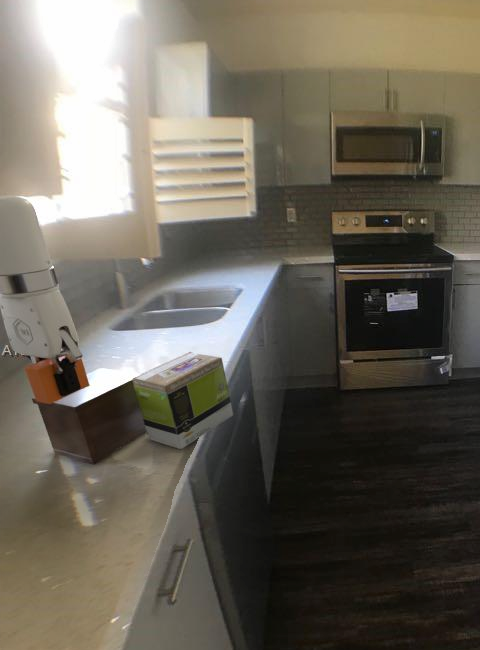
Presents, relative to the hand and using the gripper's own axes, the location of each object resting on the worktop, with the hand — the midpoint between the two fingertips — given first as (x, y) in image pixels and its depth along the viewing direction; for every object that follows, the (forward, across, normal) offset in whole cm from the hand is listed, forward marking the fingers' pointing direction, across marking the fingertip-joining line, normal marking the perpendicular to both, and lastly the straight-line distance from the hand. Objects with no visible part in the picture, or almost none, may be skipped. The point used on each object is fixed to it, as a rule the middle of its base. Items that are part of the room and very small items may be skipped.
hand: (62, 390), depth 76 cm
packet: (+1, 0, 0) cm, 1 cm away
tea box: (+19, +4, +21) cm, 28 cm away
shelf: (+19, -10, +11) cm, 24 cm away
